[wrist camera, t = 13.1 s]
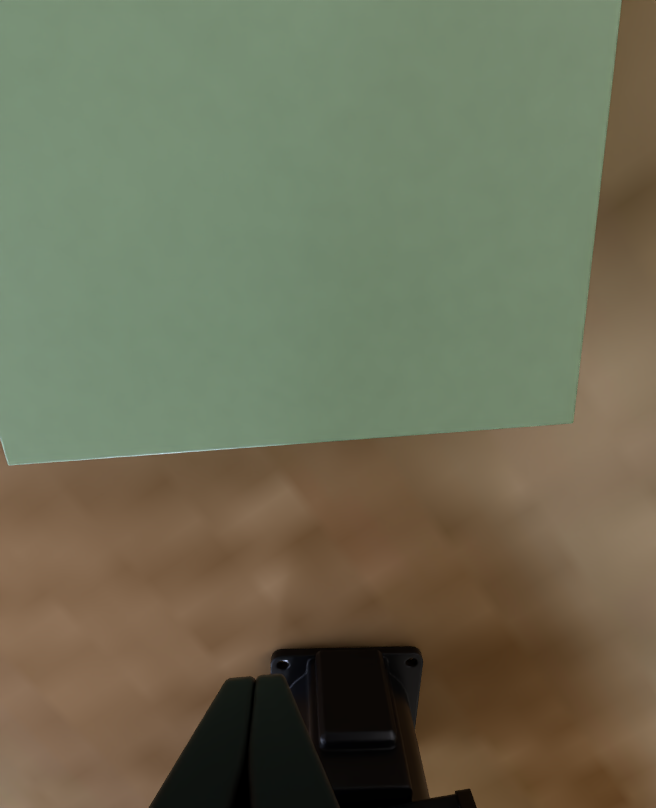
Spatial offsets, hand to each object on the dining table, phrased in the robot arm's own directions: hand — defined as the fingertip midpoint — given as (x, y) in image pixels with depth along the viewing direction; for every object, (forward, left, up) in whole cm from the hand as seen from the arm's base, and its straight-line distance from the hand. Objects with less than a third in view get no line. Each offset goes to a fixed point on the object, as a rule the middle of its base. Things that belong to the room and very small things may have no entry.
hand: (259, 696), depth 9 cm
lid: (+8, 0, -7) cm, 11 cm away
